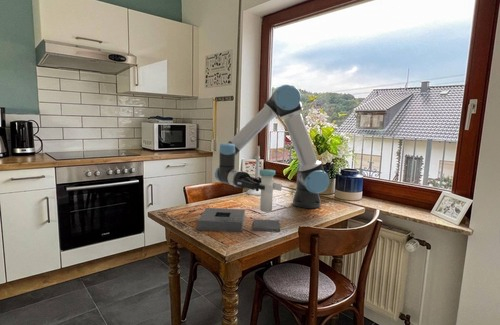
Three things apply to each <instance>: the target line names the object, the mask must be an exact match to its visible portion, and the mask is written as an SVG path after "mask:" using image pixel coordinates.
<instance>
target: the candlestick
mask: <svg viewBox="0 0 500 325" xmlns="http://www.w3.org/2000/svg"><path fill="white" fill-rule="evenodd" d="M255 148H256V151H255V156H254V158H255V171H254V172H255V173H254V178H258V177H260V174H259V170H260V160H261V156H260V145H256V147H255ZM245 193H246V194H247V195H248V194H250V196H253V195H255V197H256V196H257V197H258V196H259V197H261V190H259V191H256V189H254V190H252V189H248V190H246V192H245Z"/></svg>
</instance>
